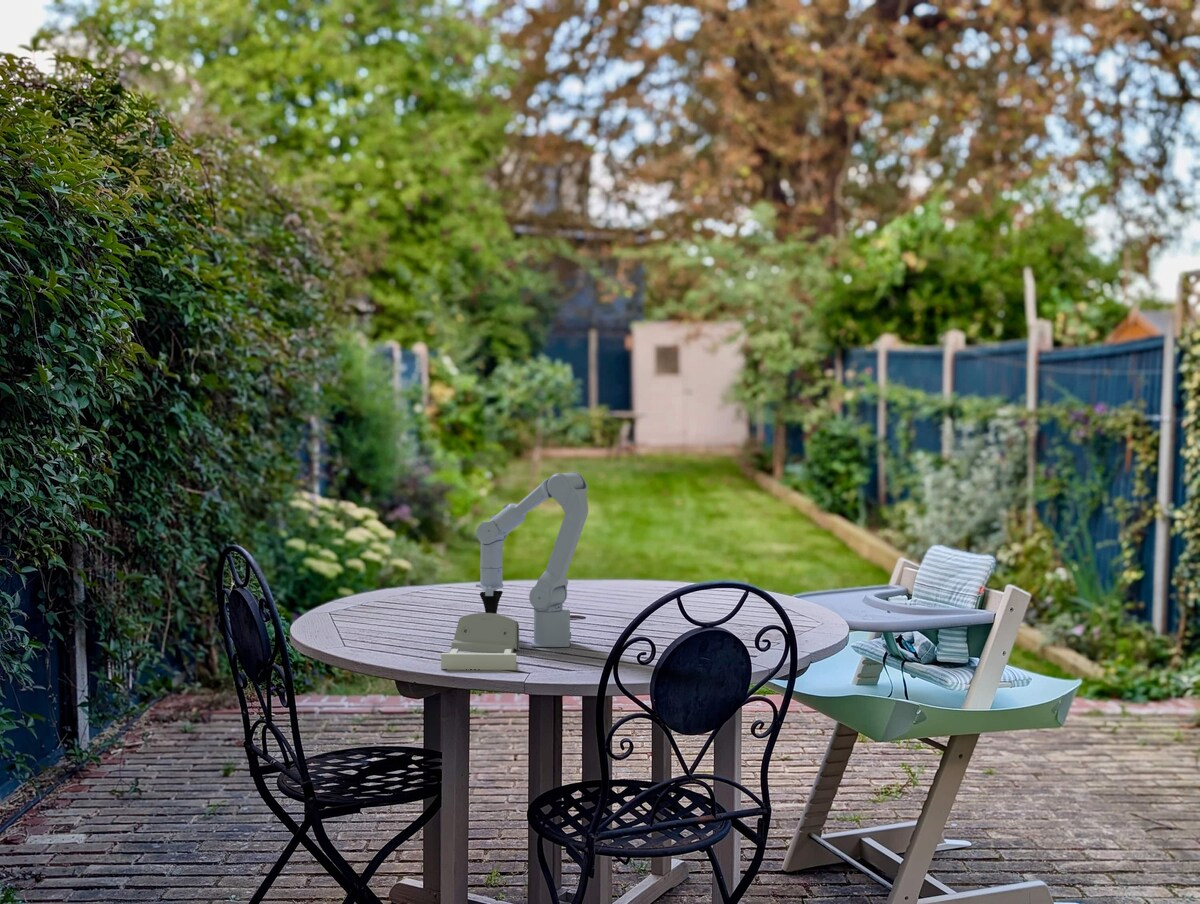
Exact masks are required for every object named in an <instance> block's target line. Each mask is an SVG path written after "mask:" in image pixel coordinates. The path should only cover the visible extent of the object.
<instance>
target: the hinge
mask: <svg viewBox="0 0 1200 904" xmlns="http://www.w3.org/2000/svg"><path fill="white" fill-rule="evenodd" d="M451 649H458V651H460V650H461V652H462V651H463V652H474V653H504V651H505V649H512V653H514V651H520V624H519V622H518V621H517V620H515V619H513V618H511V617H509V616H506V615H503V614H500V613H499V614H498V613H497V614H494V613H485V612H477V613H471V614H467V615H464V616H461V617H460V618H459V619H458V622H457V627H456V630H455V633H454V638H453V641H452V642H451V646H450V650H451Z"/></svg>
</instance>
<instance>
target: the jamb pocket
mask: <svg viewBox="0 0 1200 904" xmlns="http://www.w3.org/2000/svg"><path fill="white" fill-rule="evenodd" d="M441 669H447V670H454V671H455V670H456V671H457V670H459V671H460V670H461V671H463V670H464V671H467V670H470V669H472V670H470V671H475V670H474V669H476V671H479V670H478V669H480V671H516V670H517V653H515V652H513V653H512V649H505V651H504V653H489V652H459V650H458V649H451V648H450V651H449V652H441V654H440V670H441ZM466 669H467V670H466Z"/></svg>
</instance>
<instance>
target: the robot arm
mask: <svg viewBox="0 0 1200 904" xmlns="http://www.w3.org/2000/svg"><path fill="white" fill-rule="evenodd" d="M588 488H589V485H588V483H587V482H586V480H585V478H584V476H583V475H582V474H581V473H579V472H576V471H570V472H563V473H557V472H556V473H554V474H552V475H550V477H548V478H547V479H544V480H543V481H542V482H541V483H540V484H539V485H538V486H537V487H536V488H534V489H533V490H532V491H531V492H529V494H528V495H527V496H525V497H524V498H523V499H522V500H520V501H519V502H518V503H509V504H508V503H506V504H504V505H503V506H502V508H503V509H502V510H500V511H499V512H498V513H497V514H496V515H495V514H494V515H492V516H490V519H489V521H487V520H486V521H481V522H480V524H479V525H478V526H477V528H476V537H477V540H478V541H479V542H480V569H479V571H480V577H479V580H480V581H479V583H476V584H475V587H476V588H479V589H482V590H483V591H481V592H480V593H479V596H480V598H481V601H482V603H483V606H484V607H483V608H484V611H485V612H484V613H494V614H498V607H499V602H500V599H501V598H502V595H503V593H504V591H502V590H500V589H503V588H504V584H503V576H504V575H503V567H504V566H503V564H504V563H503V561H504V560H503V559H504V558H503V556H504V554H503V553H504V551H503V550H504V549H503V547H504V542H505V540H506V538H507V537H508V535H509V534H510V533H511V532H512V531H513V530H515V529H516V528H517V527H519V526H520V525H521V524H523V523H524V522H525V520H526V515H527V514H528V513H530V512H531V511H532V510H533V509H535V508H537V507H538V506H539V505H541V504H542V503H543V502H545V501H547V500H548V499H550V498H552V499H554V500H555V501H556V503H558V504H559V505H560V507H561V508H562V510H563V512H564V514H565V515H564V517H563V520H562V522H561V525H560V529H559V531H558V534H557V537H556V539H555V541H554V546H553V548H552V552H551V554H550V557H549V558H548V559H549V560H548V562H547V566H546V569H545V571H544V572H543V573H542V574H541V576H540V577H539V578H538V580H537V582H536V583H535V585H534V587H532V588H531V590H530V591H529V594H528V595H529V596H528V599H529V603H530V604H531V607H533V639H532V642H531V647H532V648H533V647H534V648H537V647H538V648H570V647H569V646H570V644H571V642H570V641H571V640H572V632H571V610H570V609H563V604H564V603H565V602H566V600H567V598H568V590H567V589H568V585H569V580H568V577H567V574H568V571H569V568H570V565H571V563H572V561H573V560H572V559H573V557H574V555H575V552H576V549H577V546H578V543H579V540H580V538H581V535H582V531H583V529H584V526H585V522H586V520H587V518H588V515H589V504H588V494H587V492H588V490H589V489H588Z"/></svg>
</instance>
